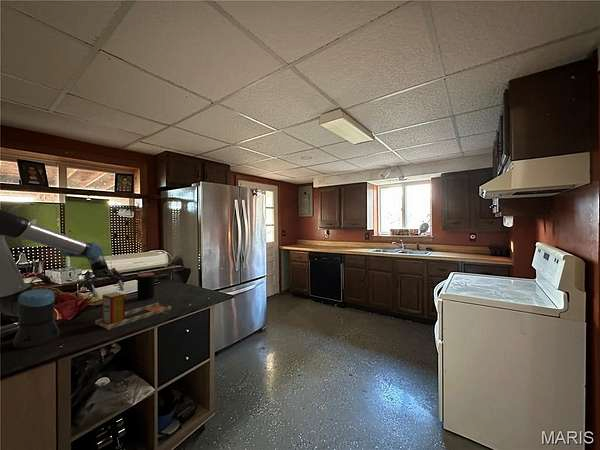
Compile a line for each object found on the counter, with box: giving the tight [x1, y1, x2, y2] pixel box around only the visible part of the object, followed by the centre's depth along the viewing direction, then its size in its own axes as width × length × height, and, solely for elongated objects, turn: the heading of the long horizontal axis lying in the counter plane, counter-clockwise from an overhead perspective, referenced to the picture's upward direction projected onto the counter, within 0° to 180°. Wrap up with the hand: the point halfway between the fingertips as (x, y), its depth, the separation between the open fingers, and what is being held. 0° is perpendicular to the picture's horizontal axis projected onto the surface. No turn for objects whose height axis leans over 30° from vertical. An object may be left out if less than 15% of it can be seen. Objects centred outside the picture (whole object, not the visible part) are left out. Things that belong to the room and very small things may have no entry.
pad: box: [97, 318, 126, 329], centre depth 137 cm, size 11×11×1 cm
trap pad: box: [145, 304, 166, 312], centre depth 158 cm, size 9×11×1 cm
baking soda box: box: [102, 291, 126, 325], centre depth 137 cm, size 10×6×16 cm
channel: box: [94, 302, 172, 331], centre depth 147 cm, size 35×14×2 cm, turn 151°
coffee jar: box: [136, 272, 155, 301], centre depth 182 cm, size 11×11×18 cm
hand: (109, 292), depth 141 cm, fingers open, 13 cm apart
